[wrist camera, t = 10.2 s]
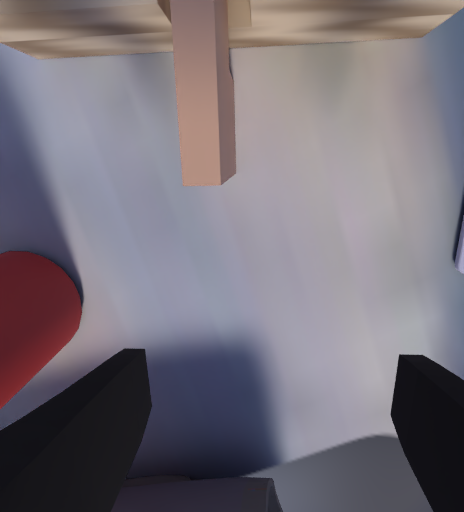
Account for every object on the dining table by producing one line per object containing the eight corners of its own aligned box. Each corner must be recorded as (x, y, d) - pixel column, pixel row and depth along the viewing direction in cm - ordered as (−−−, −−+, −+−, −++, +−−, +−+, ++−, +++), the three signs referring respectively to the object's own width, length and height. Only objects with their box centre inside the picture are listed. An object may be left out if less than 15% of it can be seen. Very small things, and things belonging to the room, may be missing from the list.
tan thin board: (229, -130, 13) (198, -420, 7) (235, 173, 17) (220, 185, 10) (199, -127, 13) (140, -409, 7) (212, 173, 17) (183, 186, 10)
